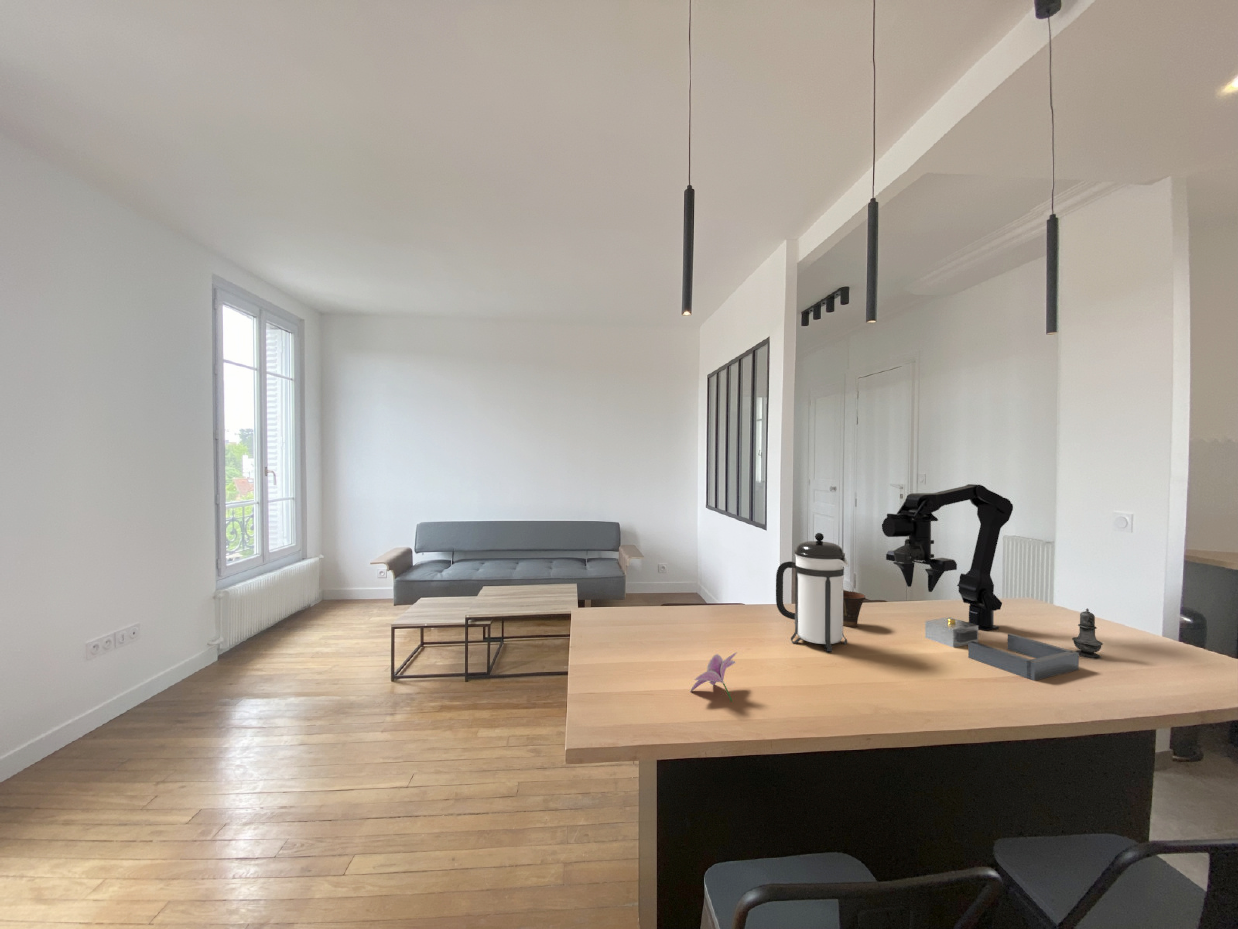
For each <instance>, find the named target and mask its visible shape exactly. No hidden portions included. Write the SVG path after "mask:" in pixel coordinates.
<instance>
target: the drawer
mask: <svg viewBox="0 0 1238 929" xmlns="http://www.w3.org/2000/svg"><path fill="white" fill-rule="evenodd" d="M924 622H925V624H924V625H925V627H924V628H925V629H924V630H925V635H924V636H925V638H924V639H927V640H931V641H934V642H937V643H939V644H942V645H945V646H948V647H950V648H956V647H957V648H958V647H963V646H968V642H970V641H974V642H977V643H979V629H978V625H975V624H972V623H968V622H969V621H964V620H961V619H958V618H954V617H949V616H948V617H942V618H937V619H929V620H925V621H924Z"/></svg>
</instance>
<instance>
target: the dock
mask: <svg viewBox="0 0 1238 929" xmlns="http://www.w3.org/2000/svg"><path fill="white" fill-rule="evenodd" d="M967 646H968V648H967V649H968V650H967V651H968V659H972V660H975V661H977V662H981V663H982V664H986V665H989V666H991V667H994V668H996V669H997V668H998V669H999V670H1002V671H1006V672H1008V673H1012V674H1013V675H1014V674H1015V675H1017V676H1020V677H1022V678H1026V679H1029V680H1032V681H1035V682H1036V681H1040V680H1043V679H1047V678H1050V677H1054V676H1059V675H1063V674H1067V673H1071V672H1074V671H1077V670H1079V668H1080V666H1079V660H1080V659H1079V658H1080V656H1079V653H1078V652H1074V651H1075V650H1069V649H1066V648H1063V647H1060V646H1057V645H1053V644H1049V643H1046V642H1043V641H1039V640H1036V639H1031V638H1028V637H1026V636H1025V637H1024V636H1022V635H1017V634H1014V633H1008V634H1007V650H1009V651H1011V652H1008V651H1005V650H1002V649H999V648H996V647H992V646H989V645H986V644H983V643H980V642H978V643H977V642H974V641H970V642H968V645H967ZM1012 652H1016V653H1018V654H1022V655H1023V656H1021V655H1017V654H1014V653H1012ZM1024 656H1028V657H1031V658H1033V659H1031V658H1027V657H1024Z"/></svg>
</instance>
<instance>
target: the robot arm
mask: <svg viewBox="0 0 1238 929" xmlns="http://www.w3.org/2000/svg"><path fill="white" fill-rule="evenodd" d="M966 501H970V503H971V505H973V506H974V507H975V508H976V515H977V518H978V521H979V522H980V526H979V530H978V535H977V539H976V543H975V547H974V552H973V557H972V561H971V565H970V569H969V571H967V572H966V573H960V575H959V579H958V583H957V585H956V586H957V587H958V593H959V594H960V597H961V599H962V602H963V603H964V604H969V606H968V621H967V622H968V623H972V624H975V625H978V630H982V631H989V630H996V629H999V628H1000V626H999V625H997V624H995V625H994V622H995V621H994V614H995V613H994V611H998V610H999V611H1000V610H1001V609H1002V608H1001V607H1002V606H1003V602H1002V600H1000V599H999V598H998V597H997V596H996V595H995V594H994V592H995V589H994V587H995V584H994V582H993V579H992V577H991V571H992V568H993V563H994V559H995V555H996V549H997V546H998V542H999V537H1000V532H1001V528H1003V526H1004V525H1006V524H1007V523H1008V522H1009V521H1010V518H1011V515H1012V513H1013V510H1014V504H1013V503H1012V502H1011V500H1010V499H1009V498H1006V497H1003V496H1002V495H1001V494H999V493H996V492H994V491H992V490H990V489H988V488H987V487H986V486H984V485H982V484H976V483H975V484H974V483H973V484H966V485H963V486H959V487H955V488H951V489H946V490H941V491H937V492H919V493H918V492H915V493H914V492H913V493H908V495H906V498H905V500H904V501H903V504H902V505H901V507H900V508H899V509H898V511H897V512H896V513H887V514H886V517H885V518H884V519H883V521H882V524H881V530H882V533H883V534H884V535H885V537H888V538H898V537H899V538H900V537H901V538H905V537H908V538H905V540H904V545H901V546H899V547H898V548H896V549H894V550H888V551H887V552H886V554H885V560H887V561H891V562H893V564H894V565H895V566H897V567H898V568H899V569H900V571H901V573H902V575H903V578H904V580H905V583H906V586H907V587H908V588H910V587H912V584H913V581H914V580H913V579H914V570H915V563H917V564H922V565H929V568H924V571H925V572H926V574H927V591H928V593H932V592H933V591H934V589H935V587H936V586H937V584H938V582H939V580H940V578H941V577H942V576H943V574H944V573H945V572H948V571H949V572H950V571H956V570H958V563H957V561H956V560H955V559H951V558H946V557H937V558H936V557H935V554H933V553H932V545H934V544H935V540H934V539H932V522H938V521H939V519H938V518H937V517H936V516H935V514H933V513H934V512H936V511H939V510H940V509H941V508H942V507H945V506H947V505H948V506H949V505H952V504H953V505H954V504H956V503H960V502H961V503H962V502H966Z"/></svg>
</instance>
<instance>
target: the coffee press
mask: <svg viewBox="0 0 1238 929" xmlns="http://www.w3.org/2000/svg"><path fill="white" fill-rule="evenodd" d="M814 538H815V540H810V541H809V540H808V541H803V542H800V543H799V544H798V545H797V546H796V549H795V550H794V551H793V552H794V553H793V554H794V555H795V562H794V561H789V560H788V561H785V562H782V563H780V565H779V566H778V567H777V570H776V574H775V603H776V607H777V610H778V611H779V613H780V615H782V616H784V617H785V618H788V619H790V620H794V633H793V634H792V636H791V637H790V641H791V643H792V644H794V645H795V644H797V643H799V642H800V641H804V642H805V641H806V642H808V643H813V644H819V645H823V648H824V652H825V653H832V652H833V647H832V645H833V644H837V643H841V644H843V645H846V644H848V639H847V638H846V637H845V635H844V626H843V591H844V575H845V567H849V565H850V564H849V562H848V560H847V558H846V553H845V552H844V551H843V548H842V547H841V546H840V545H838V544H836V543H834V542H828V541H823V540H824V538H825V536H824V534H823V533H822V532H817V533H816V534H815V535H814ZM787 569H794V571H795V577H794V578H795V582H794V585H795V586H794V590H795V591H794V593H795V594H794V595H795V597H794V599H795V600H794V601H795V602H794V603H795V604H794V612H792V611H789V610H788V609H786V607H785V605H784V574H785V571H786V570H787ZM795 637H798V638H797V639H795ZM794 639H795V640H794ZM793 640H794V641H793ZM842 640H844V641H842Z"/></svg>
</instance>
